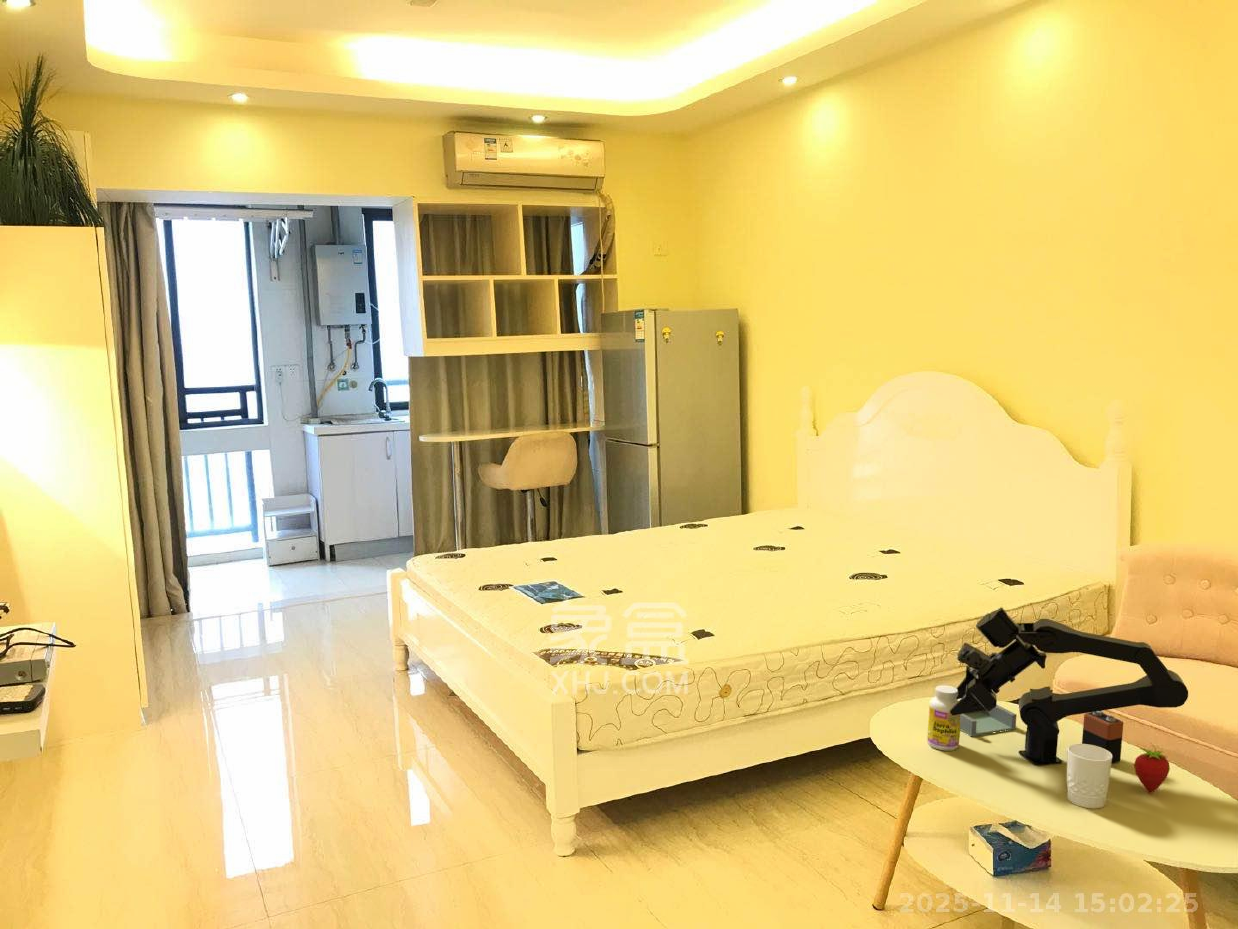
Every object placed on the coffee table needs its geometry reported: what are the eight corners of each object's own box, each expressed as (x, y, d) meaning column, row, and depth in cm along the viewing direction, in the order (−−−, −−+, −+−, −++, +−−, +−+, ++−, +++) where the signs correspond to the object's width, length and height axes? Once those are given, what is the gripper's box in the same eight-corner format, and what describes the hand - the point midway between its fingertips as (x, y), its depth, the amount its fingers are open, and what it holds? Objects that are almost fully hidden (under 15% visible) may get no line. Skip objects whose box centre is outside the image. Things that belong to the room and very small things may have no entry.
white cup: (1117, 805, 197) (1121, 755, 195) (1090, 814, 193) (1095, 763, 191) (1080, 788, 204) (1084, 740, 202) (1054, 797, 200) (1058, 748, 198)
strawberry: (1125, 791, 202) (1129, 743, 201) (1143, 781, 207) (1148, 734, 205) (1155, 803, 198) (1160, 754, 196) (1173, 792, 202) (1178, 744, 201)
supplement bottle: (926, 749, 221) (930, 692, 219) (927, 737, 227) (930, 682, 226) (959, 753, 219) (963, 696, 217) (958, 741, 226) (962, 685, 224)
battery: (1094, 750, 222) (1098, 706, 221) (1121, 762, 216) (1125, 717, 214) (1079, 753, 220) (1083, 709, 219) (1106, 766, 214) (1110, 720, 213)
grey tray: (1015, 729, 233) (1016, 714, 232) (971, 737, 228) (972, 721, 228) (981, 712, 243) (982, 697, 242) (938, 718, 239) (939, 703, 238)
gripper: (981, 622, 226) (926, 664, 231) (983, 647, 209) (923, 692, 214) (1017, 660, 225) (961, 702, 230) (1021, 689, 208) (961, 733, 213)
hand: (951, 706), depth 222 cm, fingers open, 9 cm apart
